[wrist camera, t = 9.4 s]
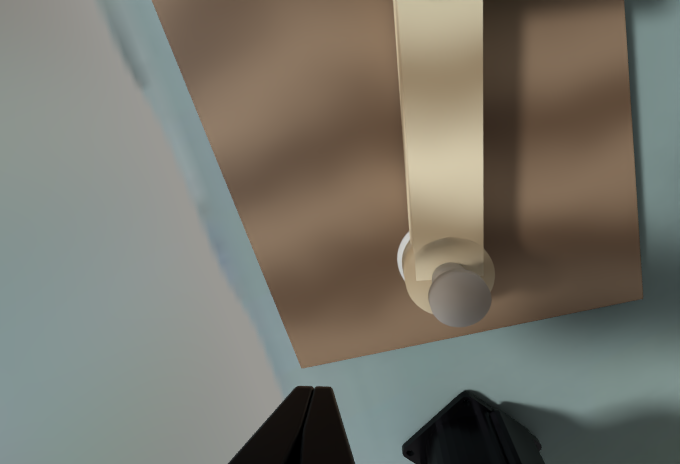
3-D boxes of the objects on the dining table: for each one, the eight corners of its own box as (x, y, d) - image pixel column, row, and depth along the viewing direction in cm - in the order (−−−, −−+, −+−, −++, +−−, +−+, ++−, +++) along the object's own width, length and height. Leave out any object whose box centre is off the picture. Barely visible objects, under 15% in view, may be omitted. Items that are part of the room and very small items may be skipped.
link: (481, 293, 18) (511, 340, 14) (404, 298, 19) (413, 346, 15) (479, -200, 12) (529, -343, 9) (366, -173, 13) (365, -297, 9)
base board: (630, 289, 19) (643, 298, 18) (304, 357, 22) (301, 368, 21) (589, -243, 13) (606, -272, 12) (145, -41, 16) (131, -51, 15)
